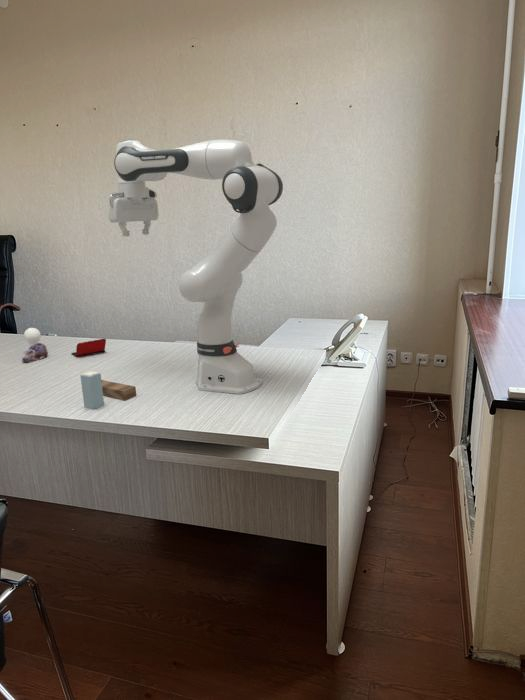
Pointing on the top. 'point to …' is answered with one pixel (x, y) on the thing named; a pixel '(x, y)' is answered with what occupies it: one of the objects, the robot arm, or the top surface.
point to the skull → (36, 353)
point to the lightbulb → (32, 336)
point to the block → (92, 390)
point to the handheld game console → (90, 348)
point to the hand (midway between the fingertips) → (136, 235)
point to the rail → (118, 390)
